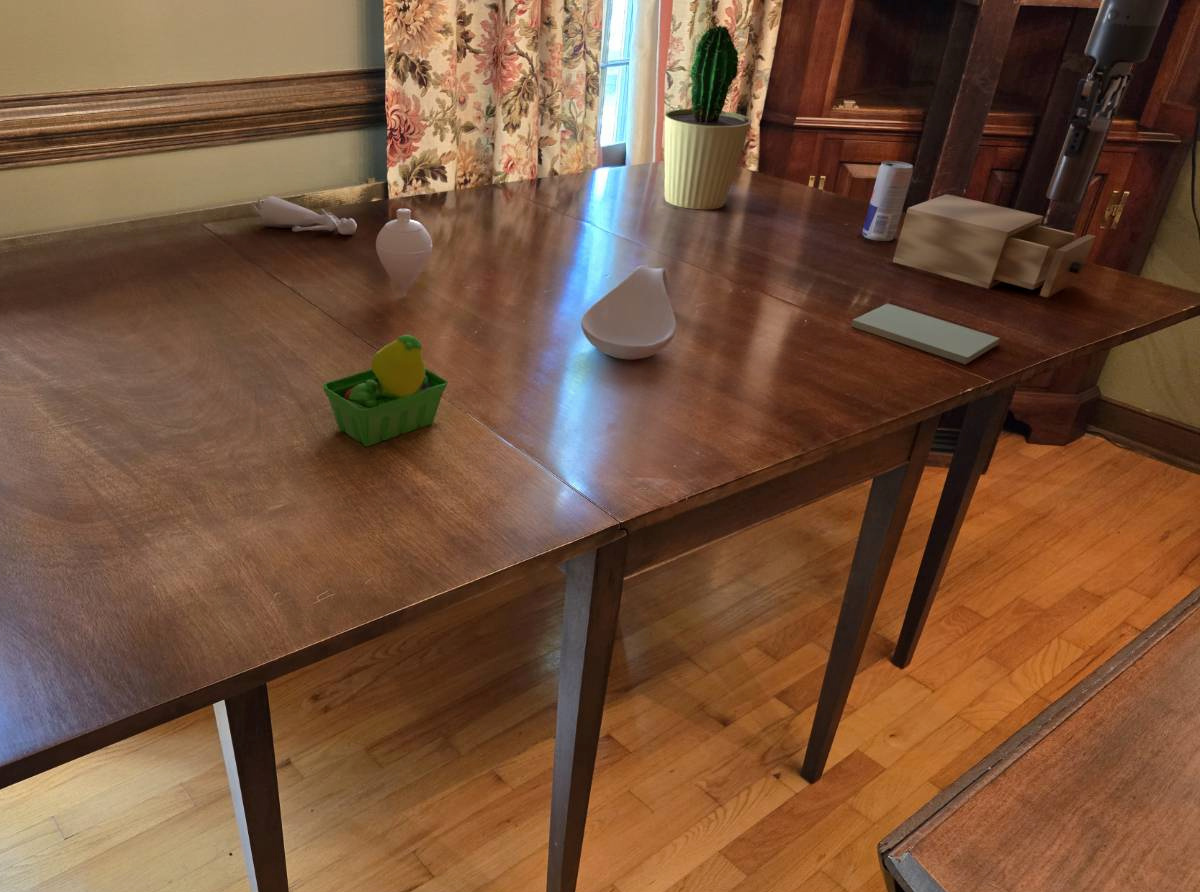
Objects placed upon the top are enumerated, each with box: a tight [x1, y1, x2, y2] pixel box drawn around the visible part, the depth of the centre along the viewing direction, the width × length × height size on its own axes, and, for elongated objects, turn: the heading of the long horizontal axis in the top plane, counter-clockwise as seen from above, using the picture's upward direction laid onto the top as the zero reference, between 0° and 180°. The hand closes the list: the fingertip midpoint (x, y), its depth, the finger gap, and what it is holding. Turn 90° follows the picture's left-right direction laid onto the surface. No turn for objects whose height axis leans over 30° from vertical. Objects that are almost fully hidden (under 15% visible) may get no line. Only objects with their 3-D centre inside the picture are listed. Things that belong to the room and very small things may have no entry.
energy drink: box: [862, 160, 914, 242], centre depth 163 cm, size 5×5×12 cm
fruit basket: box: [322, 334, 448, 448], centre depth 99 cm, size 11×9×11 cm
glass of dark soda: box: [1045, 114, 1112, 204], centre depth 137 cm, size 5×5×11 cm
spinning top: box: [375, 208, 433, 298], centre depth 131 cm, size 8×8×12 cm
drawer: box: [994, 224, 1097, 299], centre depth 146 cm, size 16×12×7 cm
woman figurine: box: [250, 195, 358, 236], centre depth 157 cm, size 12×4×18 cm
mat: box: [850, 303, 1000, 365], centre depth 129 cm, size 16×10×1 cm, turn 43°
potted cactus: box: [664, 21, 752, 210], centre depth 172 cm, size 15×15×30 cm
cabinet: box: [892, 193, 1044, 290], centre depth 152 cm, size 16×14×9 cm
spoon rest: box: [580, 264, 677, 361], centre depth 124 cm, size 24×12×7 cm, turn 162°
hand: (1079, 154), depth 137 cm, fingers closed on glass of dark soda, 4 cm apart
